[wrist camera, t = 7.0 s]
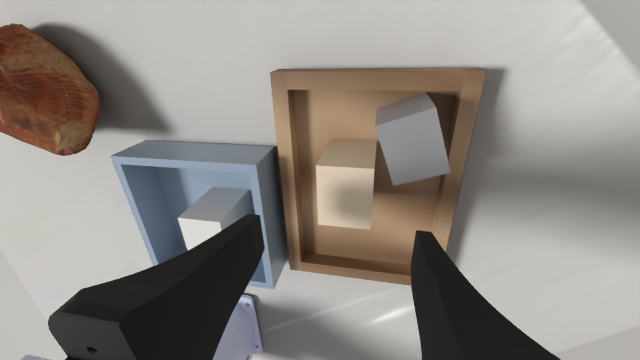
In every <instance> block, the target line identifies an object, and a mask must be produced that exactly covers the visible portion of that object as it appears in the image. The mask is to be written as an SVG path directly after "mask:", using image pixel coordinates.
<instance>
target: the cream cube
mask: <svg viewBox="0 0 640 360" xmlns="http://www.w3.org/2000/svg"><path fill="white" fill-rule="evenodd" d="M376 145H377V141H365V140H341V139H330V140H329V141H328V143H327V145H326V147H325V149H324V151H323V153H322V155H321V157H320V158H319V160H318V162H317V164H316V184H317V211H318V225H327V226H337V227H347V228H357V229H367V230H371V217H372V204H373V191H374V175H375V160H376Z"/></svg>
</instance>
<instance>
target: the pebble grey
mask: <svg viewBox="0 0 640 360" xmlns="http://www.w3.org/2000/svg"><path fill="white" fill-rule="evenodd" d="M247 214H252V211H251V205H250V199H249V193H248V190H244V189H231V188H219V187H212V188H210V189H209V190H208V191H207V192H206V193H205V194H204V195H203V196H201V197H200V198H199V199H198V200H197V201H196V202H195V203H194V204H192V205H191V206H190V207H189V208H188V209H187V210H186V211H185V212H183V213H182V214H181V215H180V216H179V217H178V221H179V224H180V228H181V231H182V234H183V237H184V240H185V244H186V247H187V250H190V249H192V248H194V247H195V246H197V245H199V244H200V243H202V242H204V241H206V240H207V239H209V238H211V237H212V236H214V235H216V234H217V233H219V232H220V231H222V230H223V229H225V228H226V227H228V226H229V225H231V224H233V223H234V222H236V221H237V220H239V219H240V218H242V217H244V216H245V215H247Z"/></svg>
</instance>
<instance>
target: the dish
mask: <svg viewBox="0 0 640 360" xmlns="http://www.w3.org/2000/svg"><path fill="white" fill-rule="evenodd" d="M111 159H112V161H113V164H114V166H115V169H116V172H117V174H118V177H119V179H120V182H121V184H122V187H123V189H124V192H125V194H126V197H127V200H128V202H129V205H130V207H131V210H132V212H133V215H134V217H135V220H136V222H137V225H138V228H139V230H140V233H141V235H142V238H143V240H144V243H145V245H146V248H147V250H148V253H149V255H150V258H151V261H152V263H153V266H155V265H158V264H160V263H163V262H165V261H167V260H170V259H172V258H174V257H176V256H178V255H180V254H182V253H184V252H186V251H188V250H187V247H186V244H185V240H184V237H183V234H182V231H181V228H180V224H179V221H178V217H179V216H180V215H181V214H182V213H183V212H185V211H186V210H187V209H188V208H189V207H190V206H191V205H192V204H194V203H195V202H196V201H197V200H198V199H199V198H200V197H201V196H203V195H204V194H205V193H206V192H207V191H208V190H209V189H210V188H212V187H219V188H231V189H244V190H248V193H249V199H250V205H251V211H252V214H255V215H260V219H261V226H262V232H263V239H264V246H265V249H264V252H263V255H262V257H261V260H260V262H259V265H258V267H257V269H256V271H255V273H254V275H253V276H252V278H251V280H250V282H249V284H248V285H249V286H256V287H262V288H269V289H274V288H275V285H276V283H277V281H278V279H279V276H280V274H281V272H282V269H283V267H284V265H285V263H286V260H287V257H286V248H285V239H284V229H283V220H282V211H281V201H280V192H279V183H278V173H277V164H276V155H275V146H262V145H241V144H220V143H198V142H177V141H156V140H145V141H143V142H141V143H138V144H136V145H134V146H132V147H129V148H127V149H125V150H123V151H121V152H118V153H116V154H114V155H112V156H111Z"/></svg>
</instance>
